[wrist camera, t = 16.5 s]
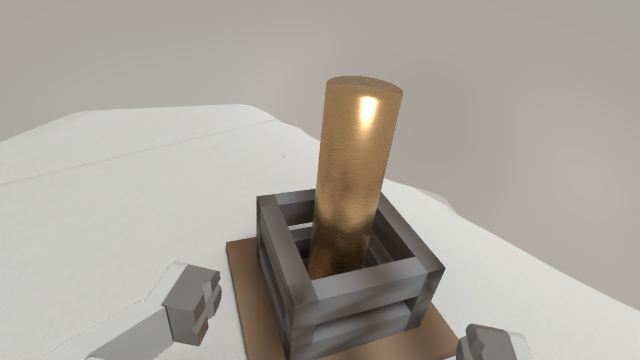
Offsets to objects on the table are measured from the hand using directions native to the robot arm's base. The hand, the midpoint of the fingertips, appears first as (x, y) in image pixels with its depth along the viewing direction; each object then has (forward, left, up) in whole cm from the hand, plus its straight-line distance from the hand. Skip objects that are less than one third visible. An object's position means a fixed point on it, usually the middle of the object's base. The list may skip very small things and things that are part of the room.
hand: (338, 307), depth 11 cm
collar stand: (+6, +11, -16) cm, 20 cm away
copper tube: (+6, +11, -15) cm, 19 cm away
